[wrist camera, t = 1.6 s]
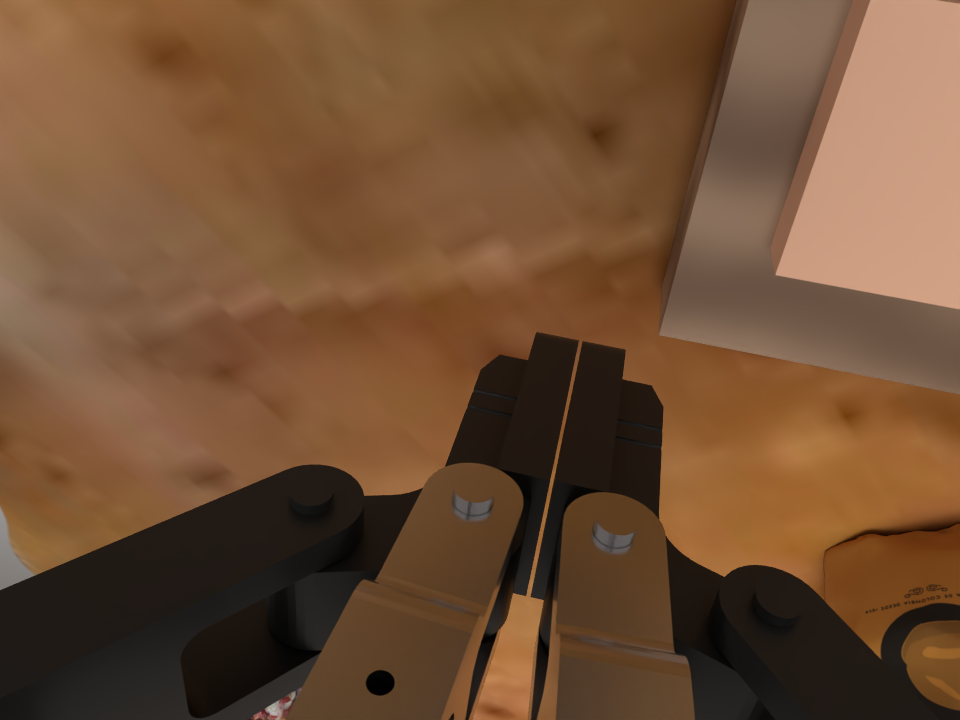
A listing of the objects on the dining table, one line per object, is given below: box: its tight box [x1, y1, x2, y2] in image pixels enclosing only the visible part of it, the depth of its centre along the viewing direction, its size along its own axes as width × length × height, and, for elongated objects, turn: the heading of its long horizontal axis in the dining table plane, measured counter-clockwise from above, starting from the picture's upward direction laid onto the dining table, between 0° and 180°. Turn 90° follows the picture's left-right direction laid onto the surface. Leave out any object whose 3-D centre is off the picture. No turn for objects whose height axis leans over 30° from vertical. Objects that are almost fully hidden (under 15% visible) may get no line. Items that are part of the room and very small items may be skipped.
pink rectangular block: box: [770, 0, 960, 309], centre depth 26 cm, size 9×6×2 cm, turn 174°
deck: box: [659, 0, 960, 394], centre depth 29 cm, size 18×12×4 cm, turn 174°
